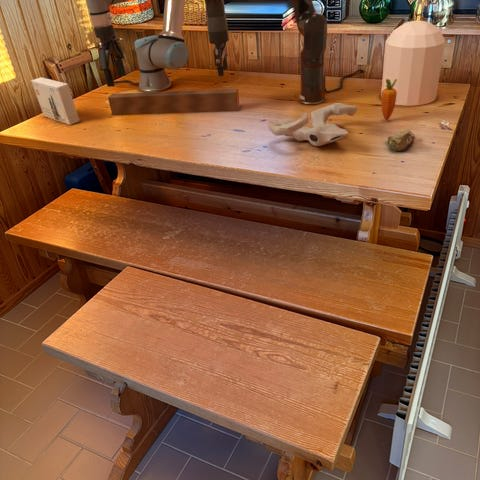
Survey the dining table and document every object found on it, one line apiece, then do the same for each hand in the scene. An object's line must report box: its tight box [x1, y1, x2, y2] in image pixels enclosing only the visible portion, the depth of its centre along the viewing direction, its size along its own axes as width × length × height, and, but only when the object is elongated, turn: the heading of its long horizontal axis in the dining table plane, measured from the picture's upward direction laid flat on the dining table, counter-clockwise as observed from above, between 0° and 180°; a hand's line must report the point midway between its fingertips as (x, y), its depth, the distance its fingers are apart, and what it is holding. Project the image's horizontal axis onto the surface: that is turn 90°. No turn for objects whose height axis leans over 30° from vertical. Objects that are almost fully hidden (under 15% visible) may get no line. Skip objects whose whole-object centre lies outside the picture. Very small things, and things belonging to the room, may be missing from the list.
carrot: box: [380, 79, 397, 122], centre depth 161 cm, size 5×5×15 cm
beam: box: [107, 88, 241, 116], centre depth 192 cm, size 54×5×8 cm, turn 82°
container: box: [380, 20, 446, 107], centre depth 176 cm, size 21×21×28 cm
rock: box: [387, 129, 416, 152], centre depth 146 cm, size 11×6×10 cm
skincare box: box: [30, 76, 81, 126], centre depth 193 cm, size 21×5×16 cm, turn 49°
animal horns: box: [267, 102, 358, 147], centre depth 155 cm, size 28×26×12 cm
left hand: (117, 80), depth 190 cm, fingers open, 13 cm apart
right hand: (223, 72), depth 183 cm, fingers open, 8 cm apart
